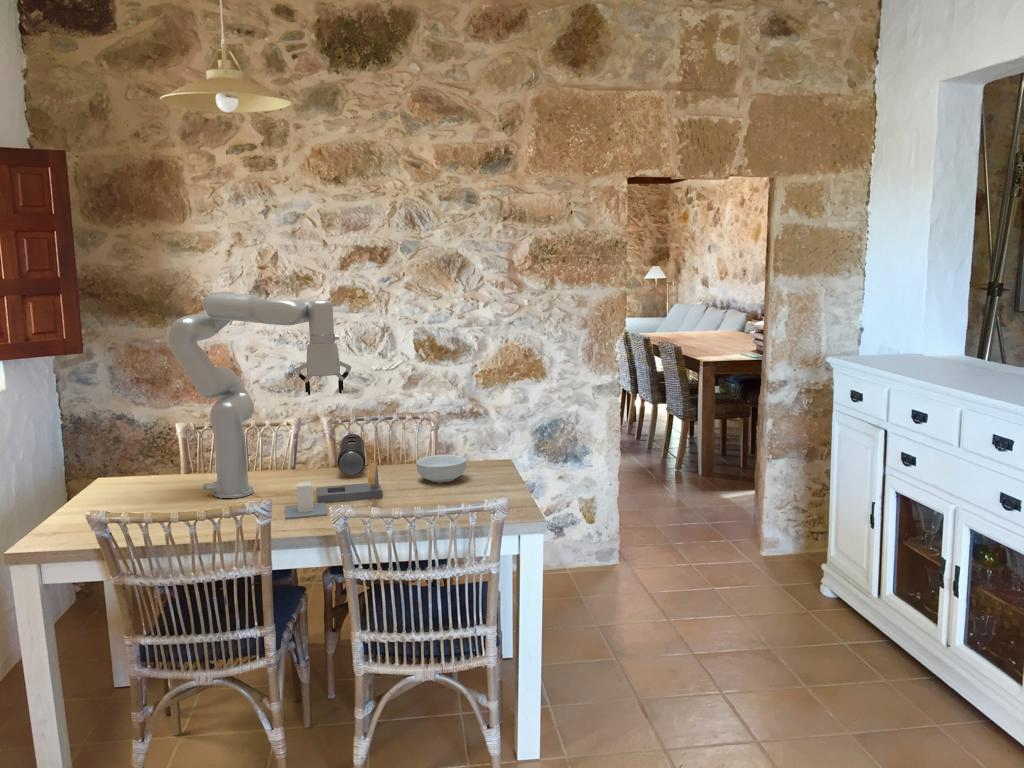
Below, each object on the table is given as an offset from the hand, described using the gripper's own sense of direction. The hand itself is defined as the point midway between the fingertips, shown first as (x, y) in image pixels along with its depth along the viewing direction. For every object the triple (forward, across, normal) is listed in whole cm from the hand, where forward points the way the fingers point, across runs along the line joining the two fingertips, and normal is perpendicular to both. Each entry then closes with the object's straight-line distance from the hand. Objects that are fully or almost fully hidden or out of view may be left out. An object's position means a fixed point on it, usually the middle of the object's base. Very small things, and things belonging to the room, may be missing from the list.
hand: (324, 393), depth 268 cm
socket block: (+33, -6, +3) cm, 34 cm away
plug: (+33, +8, +15) cm, 37 cm away
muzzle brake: (+34, -10, -32) cm, 48 cm away
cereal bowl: (+34, -38, -7) cm, 51 cm away
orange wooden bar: (+25, -13, +12) cm, 30 cm away
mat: (+33, +8, +15) cm, 37 cm away
